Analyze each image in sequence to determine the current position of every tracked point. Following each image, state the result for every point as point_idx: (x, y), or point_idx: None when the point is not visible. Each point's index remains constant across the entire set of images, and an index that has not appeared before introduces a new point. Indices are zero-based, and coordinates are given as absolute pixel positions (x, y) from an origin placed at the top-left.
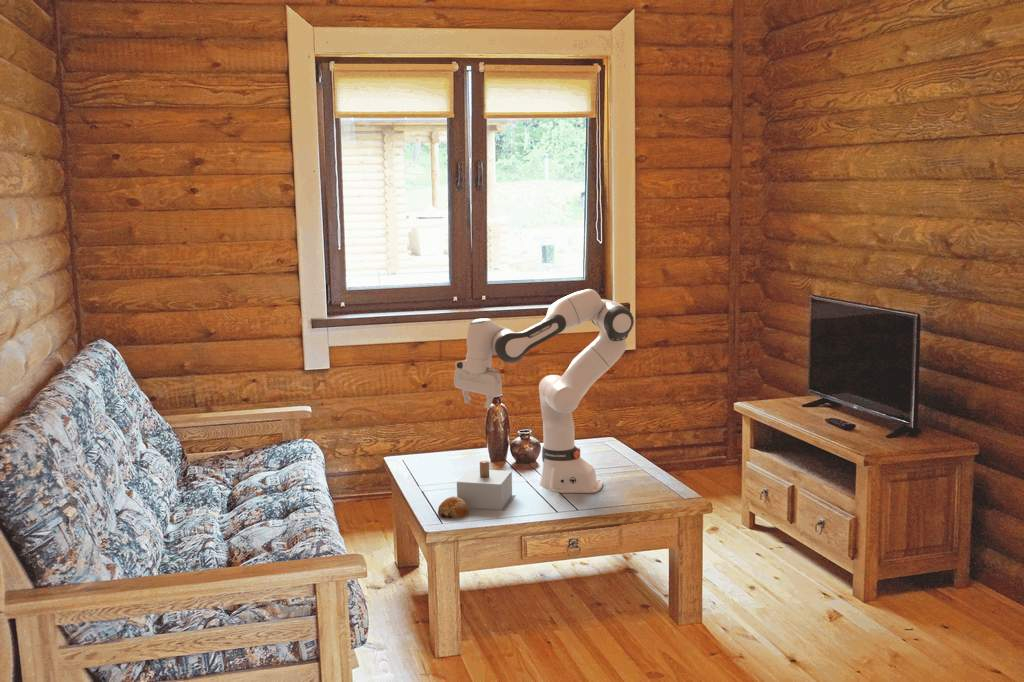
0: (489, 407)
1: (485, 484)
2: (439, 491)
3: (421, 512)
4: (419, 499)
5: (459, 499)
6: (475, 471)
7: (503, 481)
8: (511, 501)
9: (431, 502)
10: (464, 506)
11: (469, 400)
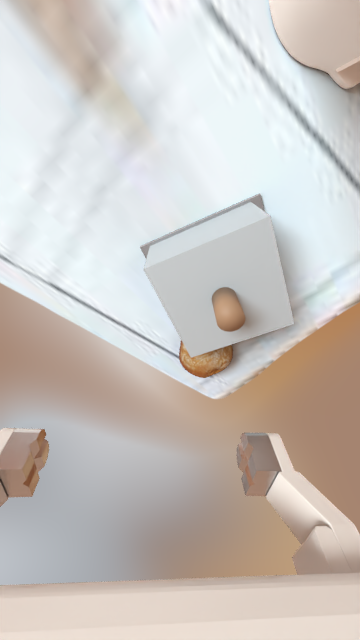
0: (275, 437)
1: (256, 335)
2: (79, 265)
3: (149, 362)
4: (92, 322)
5: (219, 364)
6: (175, 279)
7: (289, 302)
8: None
9: (123, 322)
10: (231, 358)
11: (33, 451)
